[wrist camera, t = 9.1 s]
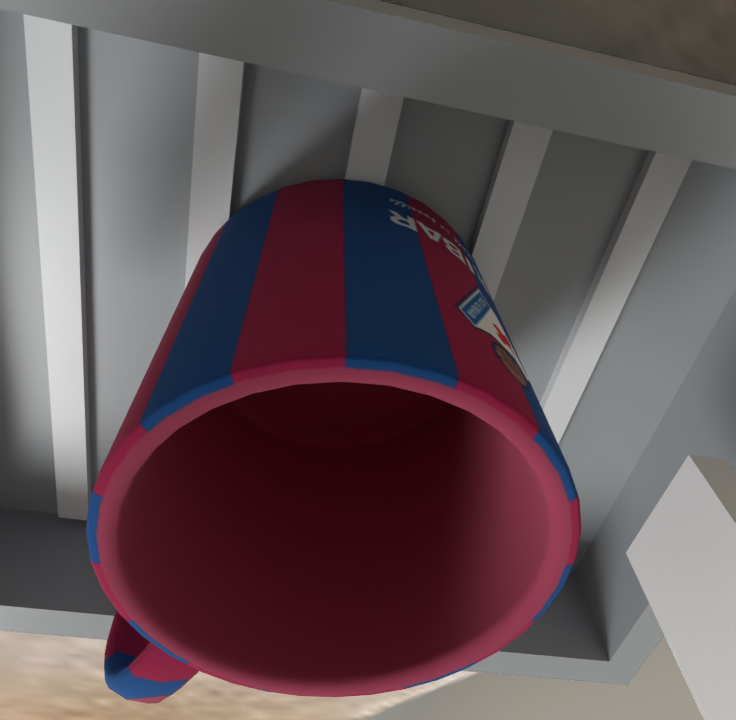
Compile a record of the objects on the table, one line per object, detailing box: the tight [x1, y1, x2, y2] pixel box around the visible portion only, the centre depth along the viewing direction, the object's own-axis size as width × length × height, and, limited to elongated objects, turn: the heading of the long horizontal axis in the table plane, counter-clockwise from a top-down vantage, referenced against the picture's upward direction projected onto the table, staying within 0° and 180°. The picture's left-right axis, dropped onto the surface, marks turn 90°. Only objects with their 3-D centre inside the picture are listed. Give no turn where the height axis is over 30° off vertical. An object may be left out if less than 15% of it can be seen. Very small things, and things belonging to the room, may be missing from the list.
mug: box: [86, 179, 581, 703], centre depth 12 cm, size 7×10×7 cm
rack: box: [0, 0, 736, 685], centre depth 14 cm, size 15×20×4 cm
